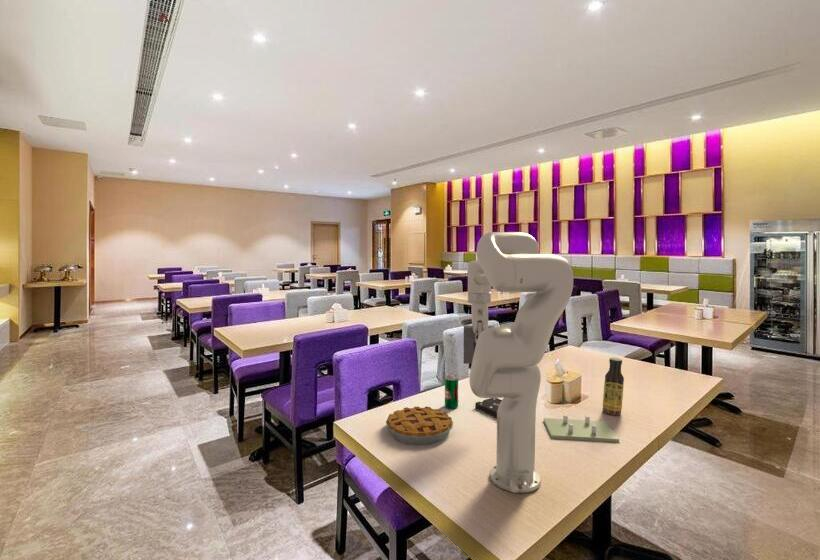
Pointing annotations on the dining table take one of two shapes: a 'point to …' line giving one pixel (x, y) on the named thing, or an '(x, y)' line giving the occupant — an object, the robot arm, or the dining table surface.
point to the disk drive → (489, 406)
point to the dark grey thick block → (469, 343)
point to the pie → (419, 425)
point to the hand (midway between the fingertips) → (478, 352)
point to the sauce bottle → (613, 388)
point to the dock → (580, 429)
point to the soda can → (451, 391)
